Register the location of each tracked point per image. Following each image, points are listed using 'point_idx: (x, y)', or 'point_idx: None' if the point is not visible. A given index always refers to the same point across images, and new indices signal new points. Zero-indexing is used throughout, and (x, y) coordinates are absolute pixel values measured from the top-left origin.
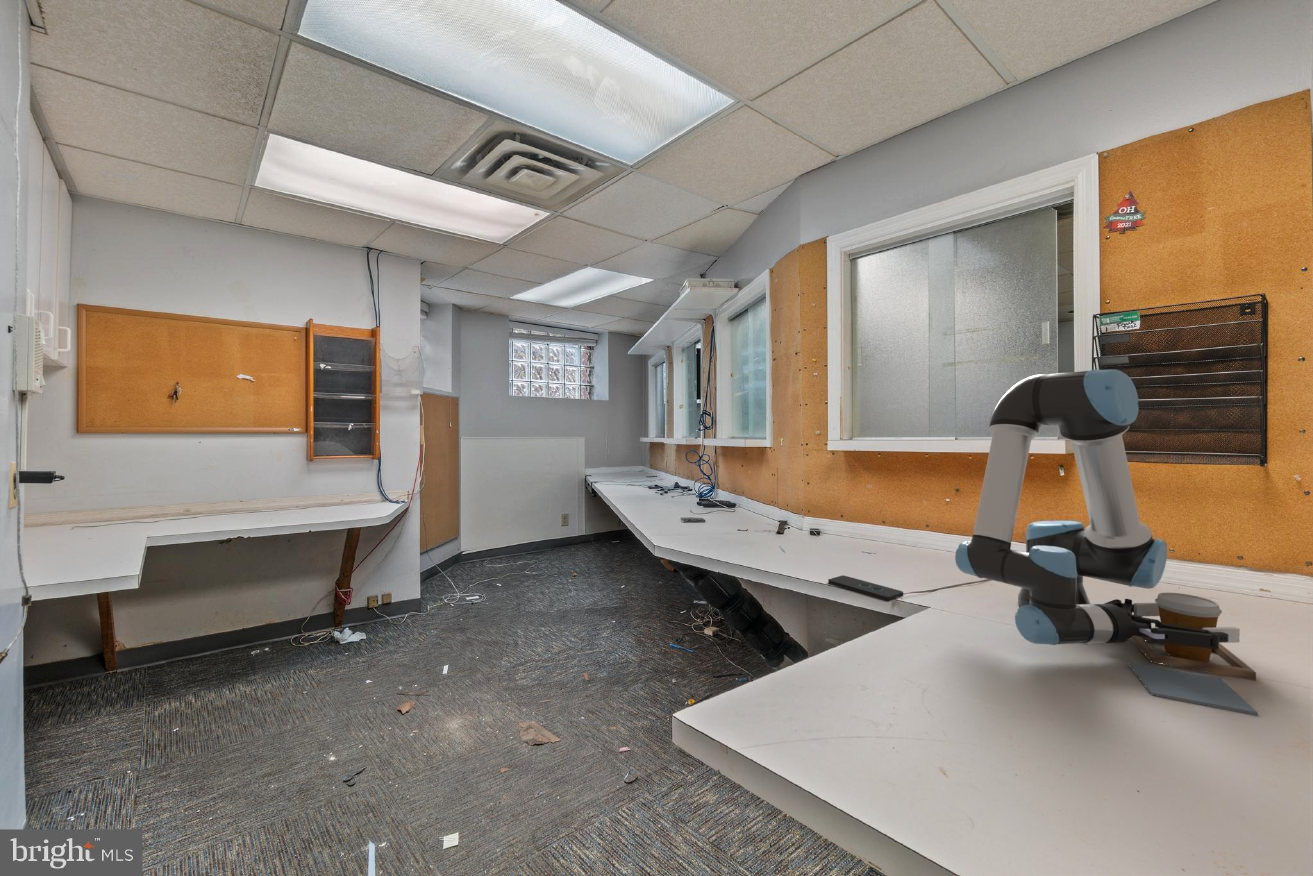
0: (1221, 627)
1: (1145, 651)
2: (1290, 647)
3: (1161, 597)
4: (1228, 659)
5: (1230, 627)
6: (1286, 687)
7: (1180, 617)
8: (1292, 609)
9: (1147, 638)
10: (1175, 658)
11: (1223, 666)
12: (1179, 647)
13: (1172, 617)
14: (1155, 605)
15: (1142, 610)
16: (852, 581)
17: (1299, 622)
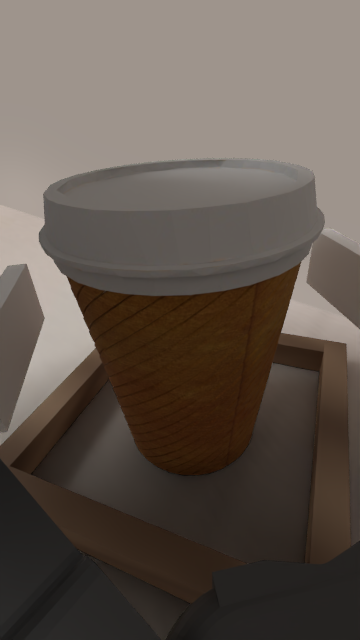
0: (354, 250)
1: None
2: None
3: (142, 211)
4: None
5: (330, 236)
6: (355, 335)
7: (270, 297)
8: (4, 210)
9: (40, 449)
10: (333, 517)
11: (340, 389)
12: (236, 430)
13: (234, 322)
14: (14, 296)
15: (2, 371)
16: None
17: (41, 219)
